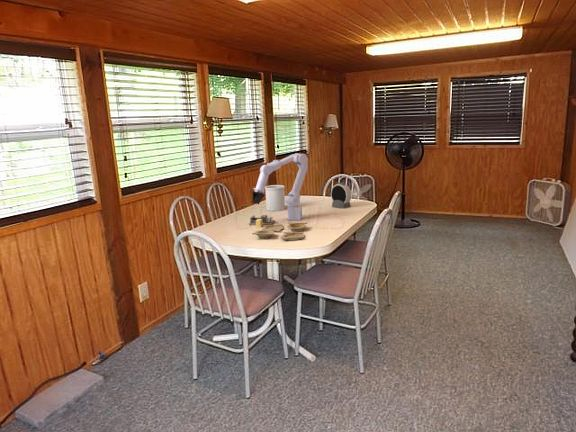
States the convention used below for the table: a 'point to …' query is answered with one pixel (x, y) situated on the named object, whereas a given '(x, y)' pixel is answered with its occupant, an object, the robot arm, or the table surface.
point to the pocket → (253, 219)
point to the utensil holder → (275, 197)
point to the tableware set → (270, 229)
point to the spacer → (259, 223)
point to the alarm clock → (341, 195)
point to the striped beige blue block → (268, 219)
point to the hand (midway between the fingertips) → (255, 203)
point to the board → (264, 223)
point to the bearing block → (263, 218)
